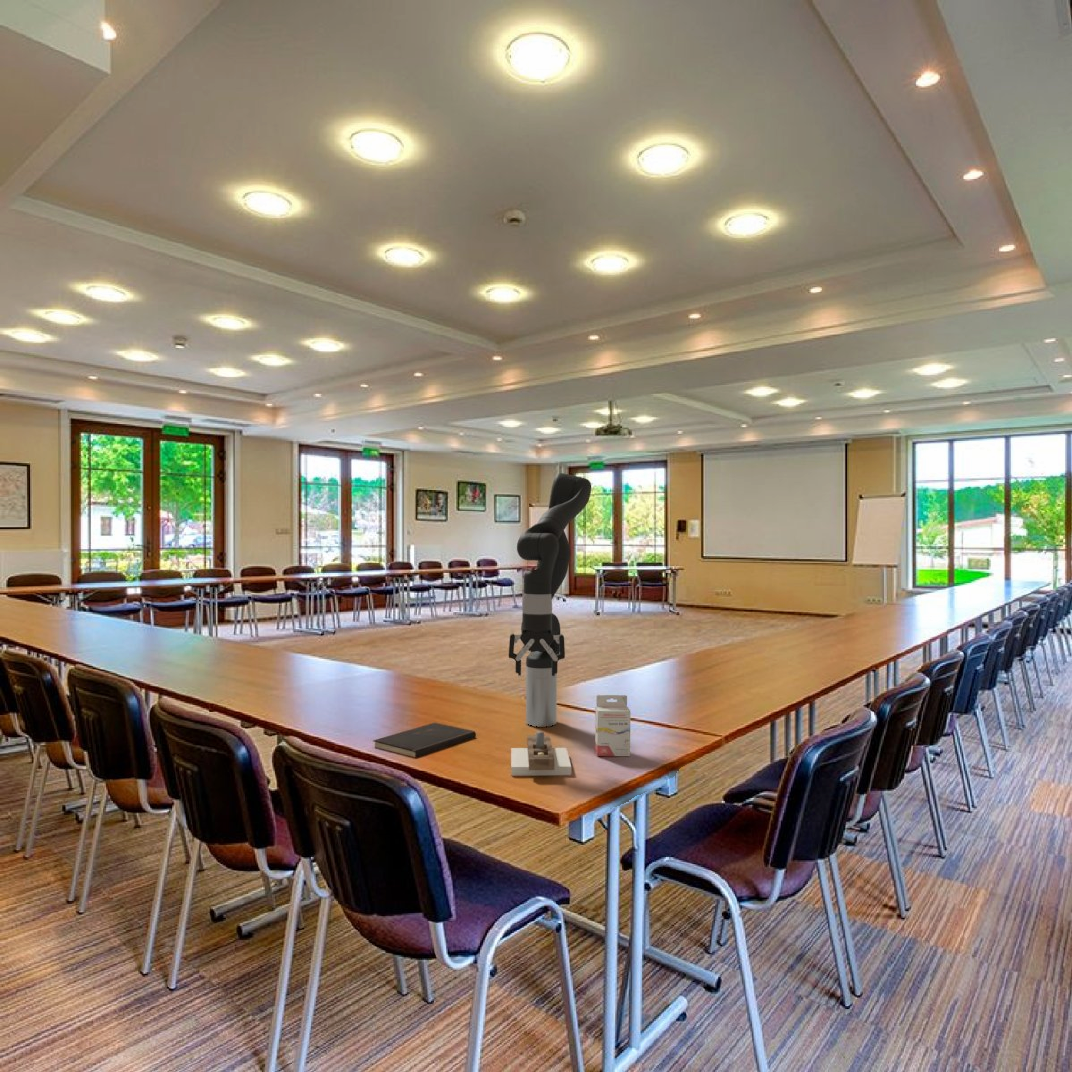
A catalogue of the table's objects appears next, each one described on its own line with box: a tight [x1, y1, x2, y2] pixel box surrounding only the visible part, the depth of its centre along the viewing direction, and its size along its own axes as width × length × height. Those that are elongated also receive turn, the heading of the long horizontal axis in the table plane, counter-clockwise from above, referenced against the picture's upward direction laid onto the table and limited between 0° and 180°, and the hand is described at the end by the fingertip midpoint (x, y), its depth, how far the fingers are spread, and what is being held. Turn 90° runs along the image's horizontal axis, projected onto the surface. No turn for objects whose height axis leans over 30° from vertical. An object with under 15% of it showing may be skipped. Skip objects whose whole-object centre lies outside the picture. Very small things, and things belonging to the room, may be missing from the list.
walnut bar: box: [526, 734, 554, 770], centre depth 169 cm, size 20×6×2 cm, turn 2°
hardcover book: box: [372, 722, 477, 759], centre depth 188 cm, size 16×23×2 cm
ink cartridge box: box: [594, 694, 631, 757], centre depth 178 cm, size 9×5×15 cm, turn 92°
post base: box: [510, 730, 572, 777], centre depth 169 cm, size 15×14×8 cm
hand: (536, 675), depth 176 cm, fingers open, 8 cm apart
